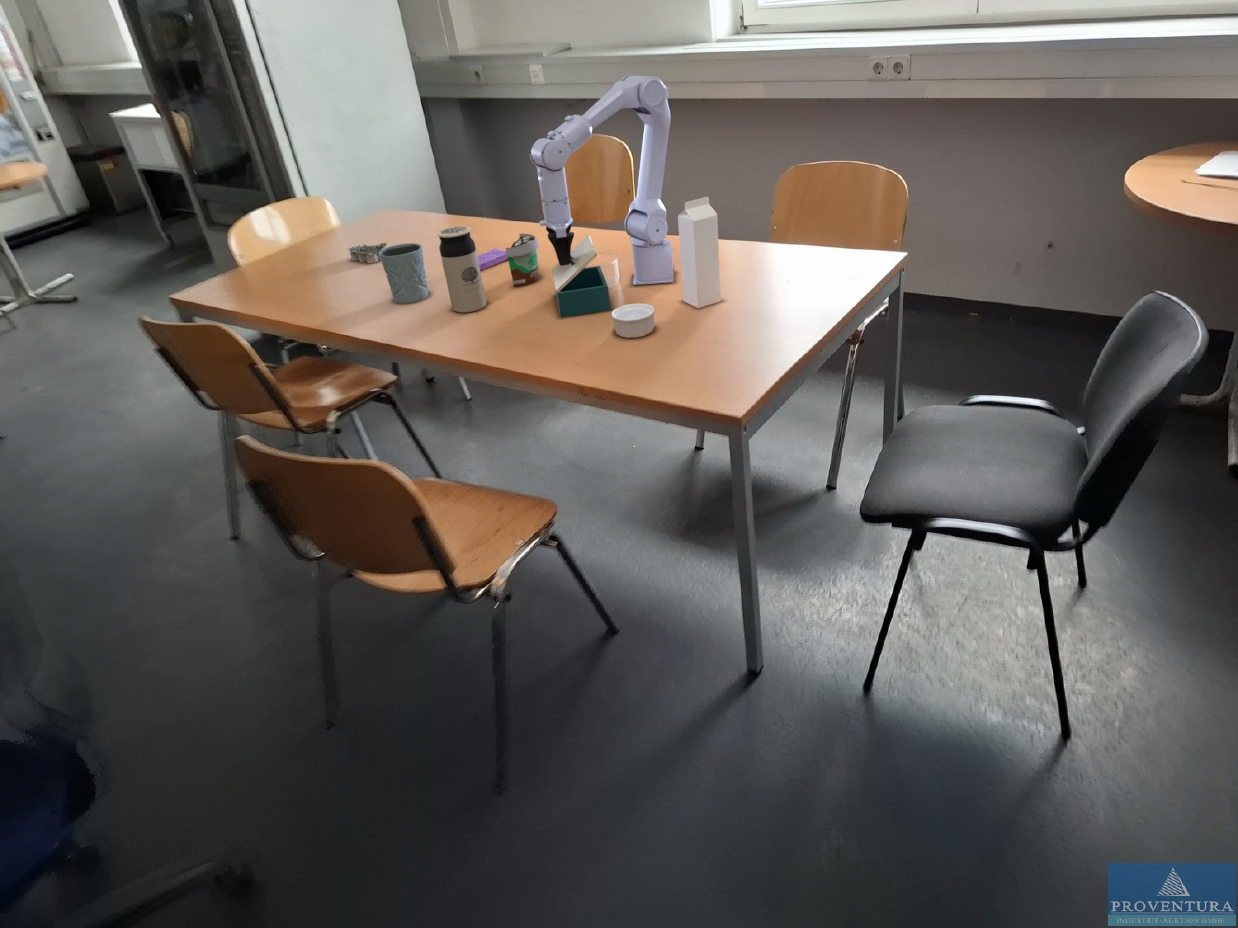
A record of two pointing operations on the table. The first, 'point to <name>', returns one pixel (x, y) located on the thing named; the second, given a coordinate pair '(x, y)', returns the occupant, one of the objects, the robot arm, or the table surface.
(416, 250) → the blue embossed cup
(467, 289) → the travel mug
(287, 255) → the table surface
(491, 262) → the sponge
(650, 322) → the ramekin
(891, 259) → the table surface
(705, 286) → the milk
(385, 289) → the table surface
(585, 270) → the cool box
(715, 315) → the table surface
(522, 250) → the food container
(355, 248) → the egg carton
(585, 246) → the lid
